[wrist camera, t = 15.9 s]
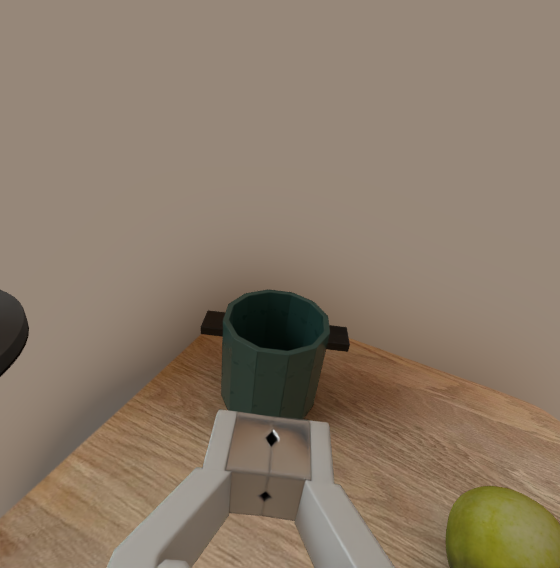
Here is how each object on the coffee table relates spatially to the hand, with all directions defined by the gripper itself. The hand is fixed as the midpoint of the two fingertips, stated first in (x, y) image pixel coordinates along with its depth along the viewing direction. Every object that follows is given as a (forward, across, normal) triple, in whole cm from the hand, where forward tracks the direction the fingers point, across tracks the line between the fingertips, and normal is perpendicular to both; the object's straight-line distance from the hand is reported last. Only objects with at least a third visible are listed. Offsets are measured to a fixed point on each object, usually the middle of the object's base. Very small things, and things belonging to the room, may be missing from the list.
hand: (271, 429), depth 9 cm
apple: (+7, -19, +24) cm, 31 cm away
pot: (+23, 0, +24) cm, 33 cm away
